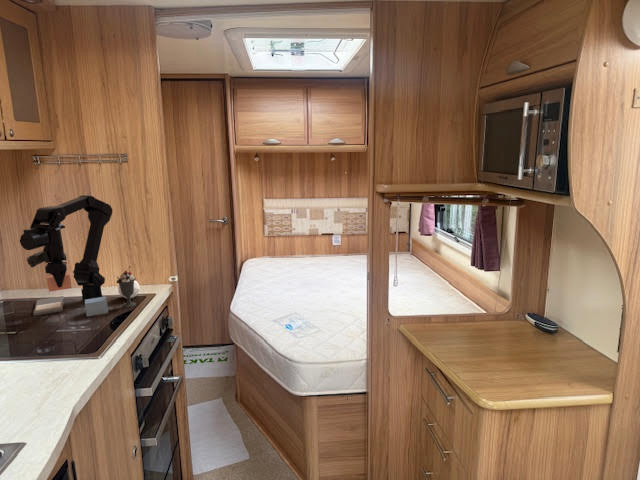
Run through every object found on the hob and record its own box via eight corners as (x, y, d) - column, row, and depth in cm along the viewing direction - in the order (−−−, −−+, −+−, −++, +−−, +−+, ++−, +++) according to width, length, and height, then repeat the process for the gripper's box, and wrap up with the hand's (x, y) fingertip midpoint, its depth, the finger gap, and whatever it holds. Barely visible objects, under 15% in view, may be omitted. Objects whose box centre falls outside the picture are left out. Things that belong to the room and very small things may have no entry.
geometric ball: (125, 305, 176) (110, 292, 173) (135, 292, 183) (120, 279, 180) (137, 298, 173) (122, 284, 170) (147, 285, 180) (132, 271, 177)
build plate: (63, 298, 178) (63, 295, 177) (62, 311, 164) (61, 308, 164) (37, 302, 174) (37, 299, 173) (33, 315, 160) (33, 312, 160)
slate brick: (107, 309, 166) (106, 296, 165) (108, 313, 162) (106, 300, 161) (86, 312, 163) (85, 299, 162) (86, 316, 159) (84, 303, 158)
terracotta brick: (71, 284, 163) (69, 271, 162) (71, 288, 159) (69, 274, 158) (49, 288, 160) (47, 274, 159) (48, 291, 156) (46, 278, 155)
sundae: (141, 302, 172) (137, 265, 169) (133, 308, 165) (128, 270, 162) (125, 301, 173) (121, 264, 169) (116, 308, 166) (111, 269, 163)
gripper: (27, 240, 160) (35, 282, 163) (23, 252, 144) (32, 297, 147) (63, 237, 165) (69, 277, 169) (63, 247, 149) (70, 291, 153)
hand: (60, 285), depth 159 cm, fingers closed on terracotta brick, 5 cm apart
